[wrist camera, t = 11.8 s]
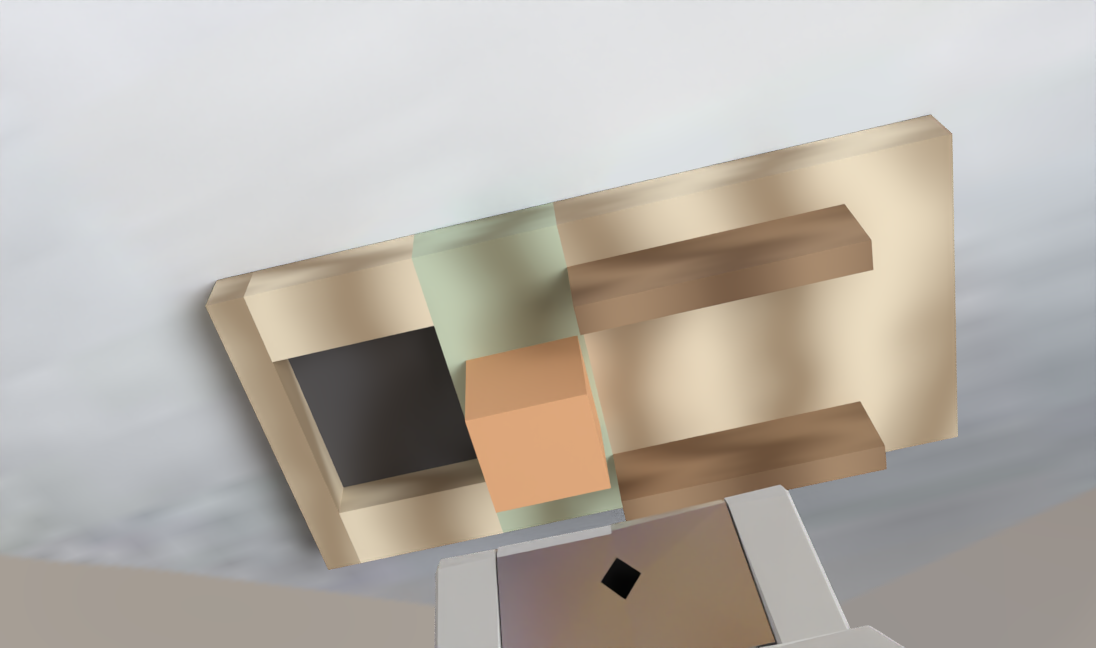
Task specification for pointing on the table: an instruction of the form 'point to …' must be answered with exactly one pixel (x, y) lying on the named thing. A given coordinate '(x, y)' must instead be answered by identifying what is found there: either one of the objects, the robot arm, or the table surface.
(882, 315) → the tunnel board
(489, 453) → the block
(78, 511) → the table surface
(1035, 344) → the table surface
